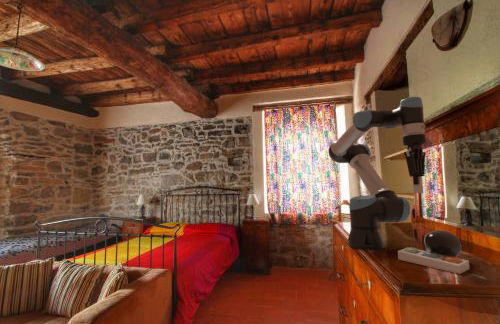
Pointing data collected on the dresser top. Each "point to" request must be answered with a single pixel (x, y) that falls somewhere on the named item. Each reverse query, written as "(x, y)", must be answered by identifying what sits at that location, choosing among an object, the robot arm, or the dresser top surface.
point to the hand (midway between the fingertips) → (418, 192)
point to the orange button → (452, 259)
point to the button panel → (433, 261)
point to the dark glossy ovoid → (443, 243)
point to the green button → (411, 250)
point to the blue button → (430, 254)
